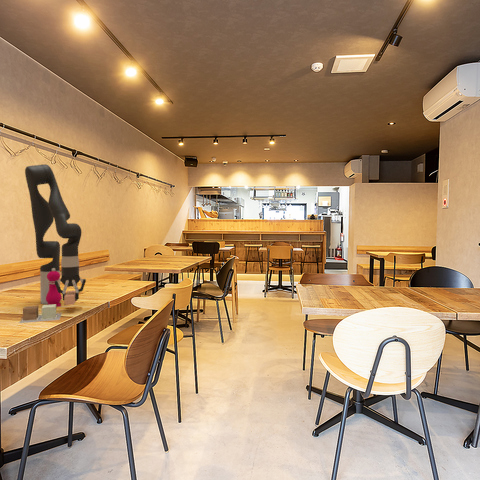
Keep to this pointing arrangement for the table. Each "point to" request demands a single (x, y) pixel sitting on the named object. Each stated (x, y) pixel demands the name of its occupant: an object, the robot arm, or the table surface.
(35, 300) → the table surface
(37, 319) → the board
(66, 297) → the lintel
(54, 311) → the sage cube
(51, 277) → the pepper mill
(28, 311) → the walnut cube
